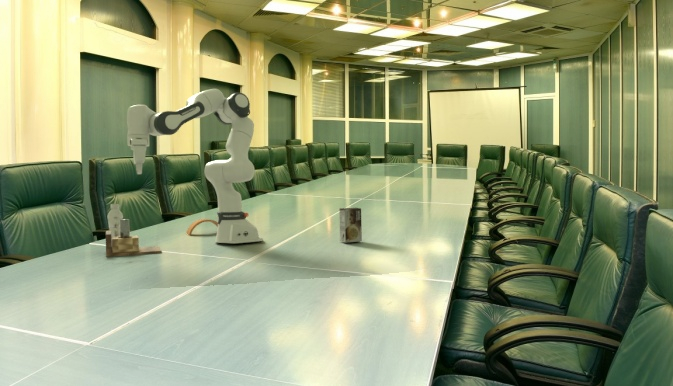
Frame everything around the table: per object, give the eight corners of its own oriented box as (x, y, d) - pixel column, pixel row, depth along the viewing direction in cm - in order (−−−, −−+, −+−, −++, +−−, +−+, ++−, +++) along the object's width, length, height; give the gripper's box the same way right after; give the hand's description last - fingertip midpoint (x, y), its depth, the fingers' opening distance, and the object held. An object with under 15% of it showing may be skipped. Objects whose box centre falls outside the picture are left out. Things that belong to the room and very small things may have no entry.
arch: (185, 239, 255) (184, 220, 255) (222, 236, 266) (221, 217, 266) (188, 240, 250) (188, 220, 250) (226, 237, 261) (225, 218, 261)
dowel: (129, 247, 209) (129, 219, 209) (130, 248, 206) (129, 219, 206) (120, 247, 208) (119, 219, 207) (120, 248, 204) (120, 220, 204)
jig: (158, 248, 220) (158, 228, 220) (161, 253, 205) (161, 231, 205) (106, 251, 211) (106, 230, 211) (106, 256, 197) (105, 234, 196)
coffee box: (355, 240, 243) (355, 207, 243) (362, 241, 237) (361, 208, 237) (339, 241, 239) (339, 208, 239) (345, 242, 233) (344, 208, 233)
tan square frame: (137, 248, 214) (137, 235, 213) (138, 251, 204) (138, 237, 204) (112, 249, 209) (112, 236, 209) (112, 252, 200) (112, 239, 200)
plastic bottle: (118, 249, 218) (117, 204, 217) (104, 249, 219) (103, 204, 219) (127, 247, 224) (126, 203, 224) (113, 247, 226) (113, 203, 225)
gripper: (129, 143, 220) (130, 174, 220) (131, 140, 201) (132, 174, 202) (144, 144, 223) (145, 174, 223) (147, 140, 204) (148, 173, 204)
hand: (139, 174), depth 212 cm, fingers open, 8 cm apart
